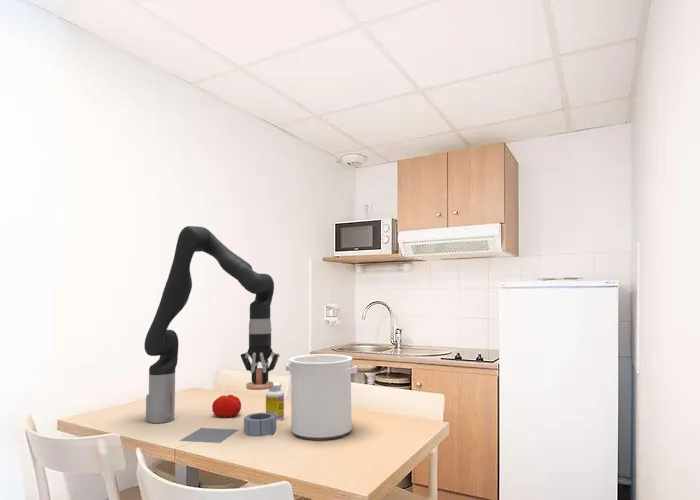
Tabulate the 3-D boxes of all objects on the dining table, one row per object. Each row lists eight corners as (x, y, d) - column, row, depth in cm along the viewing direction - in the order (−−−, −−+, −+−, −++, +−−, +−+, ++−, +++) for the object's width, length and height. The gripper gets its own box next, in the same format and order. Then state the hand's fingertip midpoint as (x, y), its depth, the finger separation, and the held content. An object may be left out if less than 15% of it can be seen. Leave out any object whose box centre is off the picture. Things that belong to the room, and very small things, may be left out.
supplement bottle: (280, 422, 174) (280, 386, 175) (263, 421, 175) (263, 385, 176) (286, 417, 181) (286, 382, 182) (269, 416, 182) (269, 382, 183)
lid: (242, 389, 159) (242, 370, 159) (252, 384, 167) (252, 366, 168) (267, 390, 157) (267, 371, 158) (277, 384, 166) (276, 366, 166)
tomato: (230, 421, 177) (230, 400, 177) (206, 418, 181) (206, 398, 181) (247, 413, 187) (247, 394, 187) (223, 411, 191) (223, 392, 191)
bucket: (367, 425, 168) (366, 354, 170) (346, 445, 148) (345, 364, 150) (300, 420, 177) (300, 352, 178) (272, 437, 156) (272, 361, 158)
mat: (179, 442, 153) (179, 440, 153) (201, 429, 166) (201, 427, 166) (220, 444, 150) (220, 442, 150) (239, 431, 164) (239, 429, 164)
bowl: (240, 437, 157) (240, 420, 158) (252, 428, 167) (252, 412, 167) (269, 438, 155) (268, 421, 156) (279, 429, 165) (279, 413, 166)
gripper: (236, 332, 161) (235, 385, 160) (275, 333, 159) (275, 386, 157) (245, 330, 169) (245, 380, 167) (283, 331, 166) (283, 381, 165)
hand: (260, 383), depth 162 cm, fingers closed on lid, 2 cm apart
